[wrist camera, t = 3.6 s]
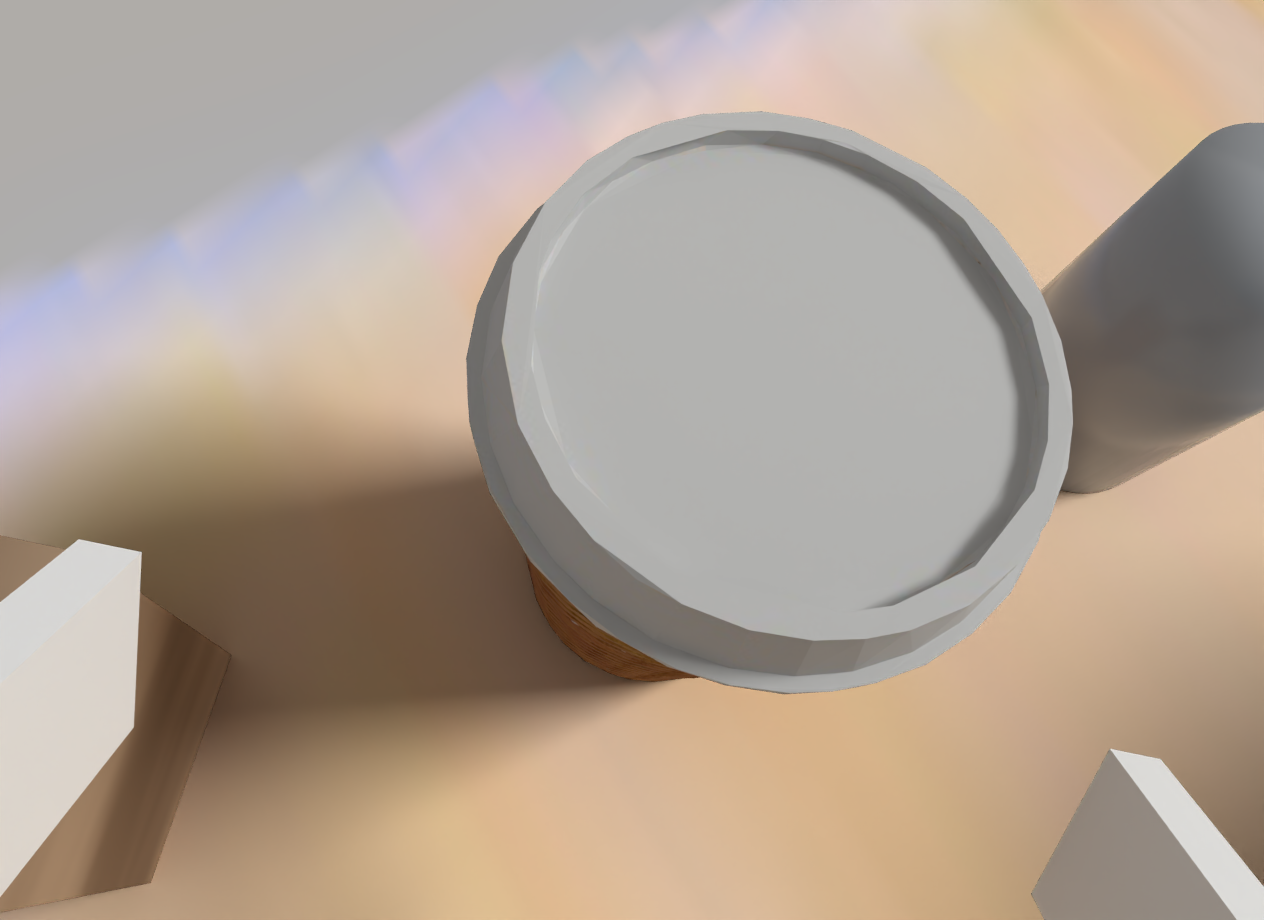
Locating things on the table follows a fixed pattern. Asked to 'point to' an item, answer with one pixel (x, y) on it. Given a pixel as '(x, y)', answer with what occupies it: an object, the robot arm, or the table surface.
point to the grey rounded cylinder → (1167, 316)
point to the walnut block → (124, 757)
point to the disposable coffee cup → (766, 407)
